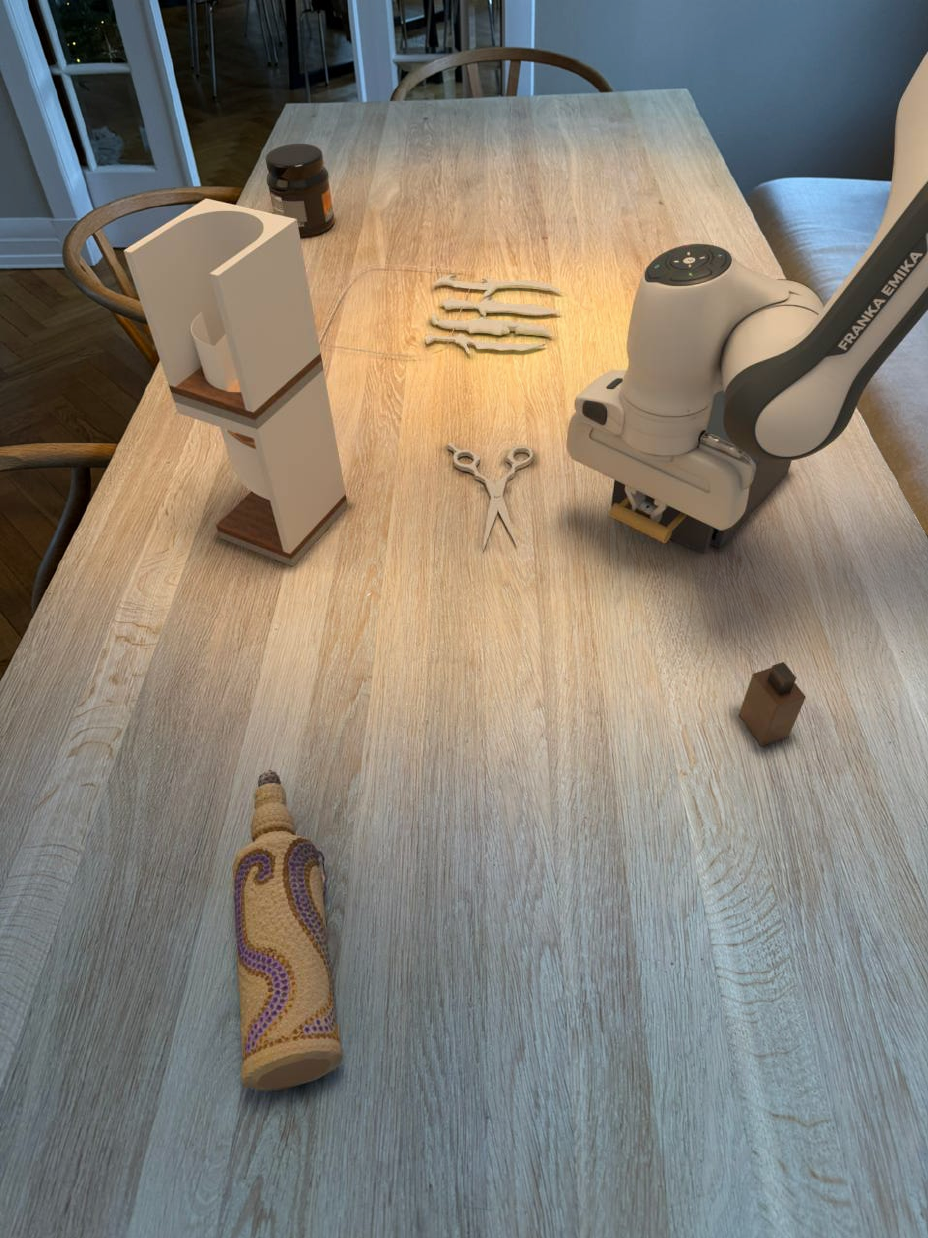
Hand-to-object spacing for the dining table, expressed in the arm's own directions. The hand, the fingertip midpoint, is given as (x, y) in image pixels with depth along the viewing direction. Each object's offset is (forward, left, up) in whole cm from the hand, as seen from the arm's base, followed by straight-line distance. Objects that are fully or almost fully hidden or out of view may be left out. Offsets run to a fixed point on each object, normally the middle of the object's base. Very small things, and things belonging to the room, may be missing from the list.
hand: (645, 518), depth 97 cm
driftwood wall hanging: (+51, -25, -5) cm, 57 cm away
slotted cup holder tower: (+36, +22, -5) cm, 42 cm away
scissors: (+19, +3, -5) cm, 20 cm away
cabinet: (0, -14, -5) cm, 14 cm away
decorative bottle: (-2, +55, -5) cm, 56 cm away
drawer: (0, -8, -4) cm, 9 cm away
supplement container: (+91, -33, -5) cm, 97 cm away
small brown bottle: (-22, +13, -5) cm, 26 cm away
